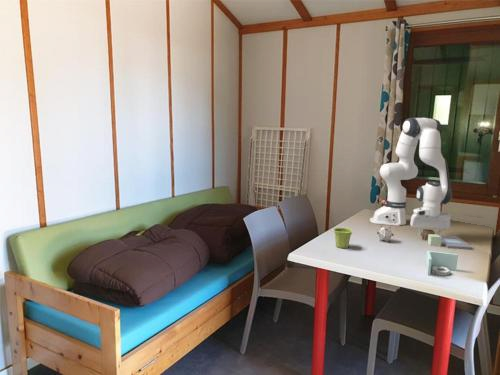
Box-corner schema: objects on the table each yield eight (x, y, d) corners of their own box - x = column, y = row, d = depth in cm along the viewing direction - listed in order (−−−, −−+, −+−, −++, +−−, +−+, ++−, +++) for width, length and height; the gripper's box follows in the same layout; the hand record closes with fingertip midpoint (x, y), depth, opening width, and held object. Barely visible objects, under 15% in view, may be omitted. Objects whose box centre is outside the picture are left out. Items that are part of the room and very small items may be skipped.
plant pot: (339, 242, 202) (340, 226, 201) (355, 246, 195) (356, 230, 194) (329, 246, 195) (329, 229, 194) (345, 250, 189) (346, 233, 187)
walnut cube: (424, 240, 210) (425, 231, 209) (421, 237, 215) (422, 229, 214) (434, 240, 209) (435, 232, 209) (431, 238, 214) (432, 229, 214)
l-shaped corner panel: (427, 276, 159) (429, 259, 158) (425, 266, 170) (427, 250, 169) (459, 280, 155) (462, 263, 154) (455, 270, 166) (457, 254, 165)
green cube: (430, 245, 200) (431, 236, 200) (427, 243, 205) (428, 234, 204) (440, 246, 200) (441, 237, 199) (437, 243, 205) (438, 234, 204)
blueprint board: (447, 248, 197) (447, 245, 197) (434, 237, 216) (434, 234, 216) (472, 249, 195) (472, 247, 195) (457, 238, 215) (457, 236, 215)
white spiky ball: (386, 247, 209) (397, 232, 208) (387, 245, 201) (398, 230, 201) (372, 236, 212) (383, 222, 212) (372, 235, 204) (384, 220, 204)
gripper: (449, 211, 211) (446, 235, 213) (410, 209, 214) (408, 233, 216) (453, 213, 205) (451, 238, 207) (413, 211, 208) (411, 236, 210)
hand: (428, 235), depth 212 cm, fingers open, 8 cm apart
